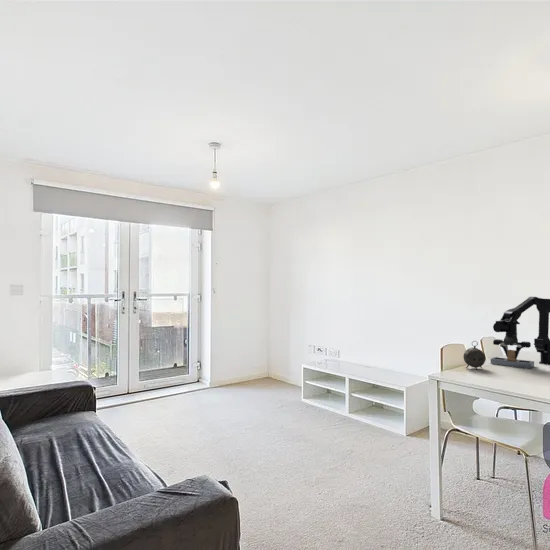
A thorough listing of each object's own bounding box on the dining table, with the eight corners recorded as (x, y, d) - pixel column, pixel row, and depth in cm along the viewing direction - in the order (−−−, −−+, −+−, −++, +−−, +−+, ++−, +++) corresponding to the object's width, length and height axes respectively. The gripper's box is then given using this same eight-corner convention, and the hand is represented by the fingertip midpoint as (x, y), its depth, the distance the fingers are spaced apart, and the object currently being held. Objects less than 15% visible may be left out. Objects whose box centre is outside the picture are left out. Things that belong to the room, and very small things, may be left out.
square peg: (509, 362, 237) (508, 349, 237) (516, 363, 234) (516, 350, 234) (507, 363, 234) (507, 350, 234) (515, 364, 231) (514, 351, 231)
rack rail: (490, 363, 238) (490, 359, 238) (494, 361, 245) (494, 356, 245) (530, 368, 224) (530, 363, 224) (534, 366, 230) (534, 361, 230)
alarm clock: (482, 368, 226) (482, 340, 227) (487, 370, 221) (486, 341, 221) (463, 367, 228) (462, 340, 228) (467, 369, 222) (466, 341, 223)
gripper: (490, 331, 235) (490, 357, 235) (526, 334, 222) (527, 361, 222) (495, 330, 243) (496, 355, 243) (530, 332, 230) (531, 358, 230)
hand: (511, 357), depth 234 cm, fingers open, 4 cm apart
